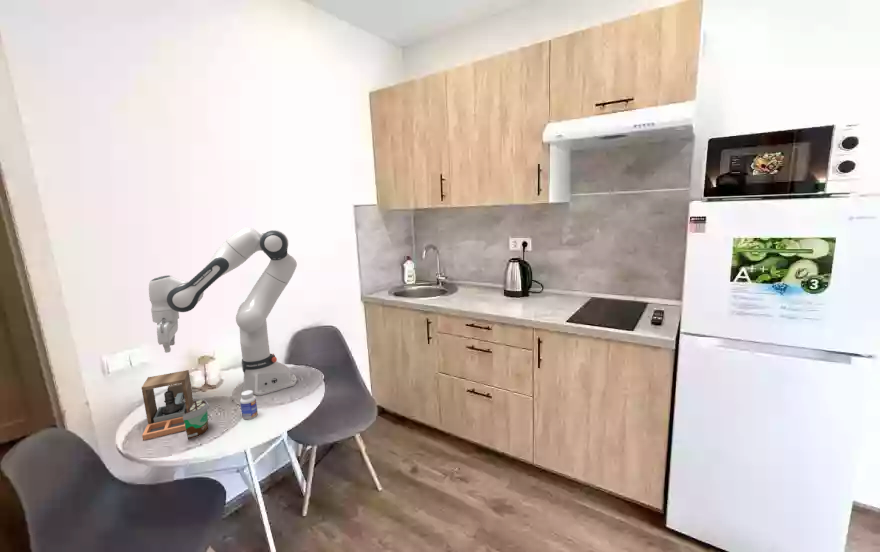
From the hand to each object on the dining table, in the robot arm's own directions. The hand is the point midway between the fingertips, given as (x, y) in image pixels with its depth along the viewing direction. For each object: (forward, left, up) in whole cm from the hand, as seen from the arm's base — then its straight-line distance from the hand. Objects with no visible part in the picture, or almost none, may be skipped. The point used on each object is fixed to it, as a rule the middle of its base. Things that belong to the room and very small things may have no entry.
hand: (170, 348), depth 158 cm
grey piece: (0, +7, -23) cm, 24 cm away
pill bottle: (-27, +29, -24) cm, 46 cm away
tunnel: (0, +15, -23) cm, 28 cm away
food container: (-12, +32, -24) cm, 41 cm away
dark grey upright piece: (0, +15, -24) cm, 28 cm away
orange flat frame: (0, +25, -23) cm, 34 cm away
